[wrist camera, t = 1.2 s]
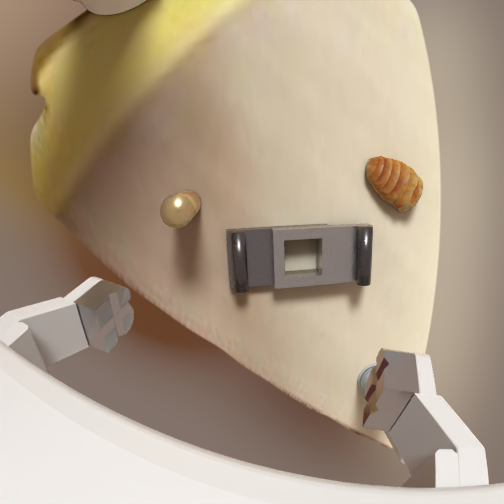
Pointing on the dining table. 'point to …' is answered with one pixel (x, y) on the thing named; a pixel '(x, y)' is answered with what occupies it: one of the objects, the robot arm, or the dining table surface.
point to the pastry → (394, 182)
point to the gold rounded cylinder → (180, 208)
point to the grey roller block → (273, 270)
